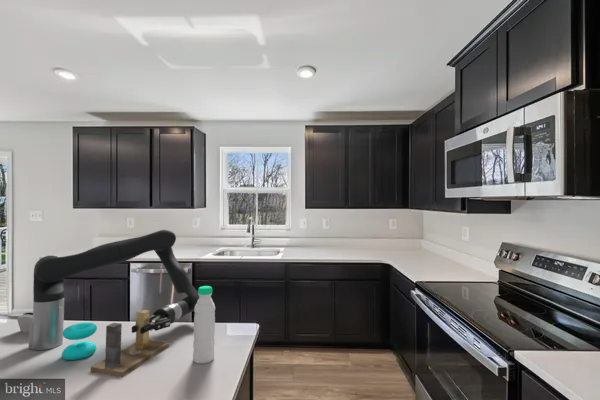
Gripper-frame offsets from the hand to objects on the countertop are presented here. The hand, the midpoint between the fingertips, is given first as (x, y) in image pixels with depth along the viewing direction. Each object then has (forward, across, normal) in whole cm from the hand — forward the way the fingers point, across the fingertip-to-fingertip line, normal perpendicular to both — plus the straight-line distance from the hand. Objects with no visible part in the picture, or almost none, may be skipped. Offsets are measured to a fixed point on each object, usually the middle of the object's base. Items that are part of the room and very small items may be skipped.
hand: (137, 330), depth 113 cm
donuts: (+4, -20, +9) cm, 22 cm away
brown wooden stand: (0, 0, +9) cm, 9 cm away
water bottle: (-4, +24, +9) cm, 26 cm away
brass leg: (-3, 0, +7) cm, 8 cm away
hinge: (-7, -54, +9) cm, 55 cm away
